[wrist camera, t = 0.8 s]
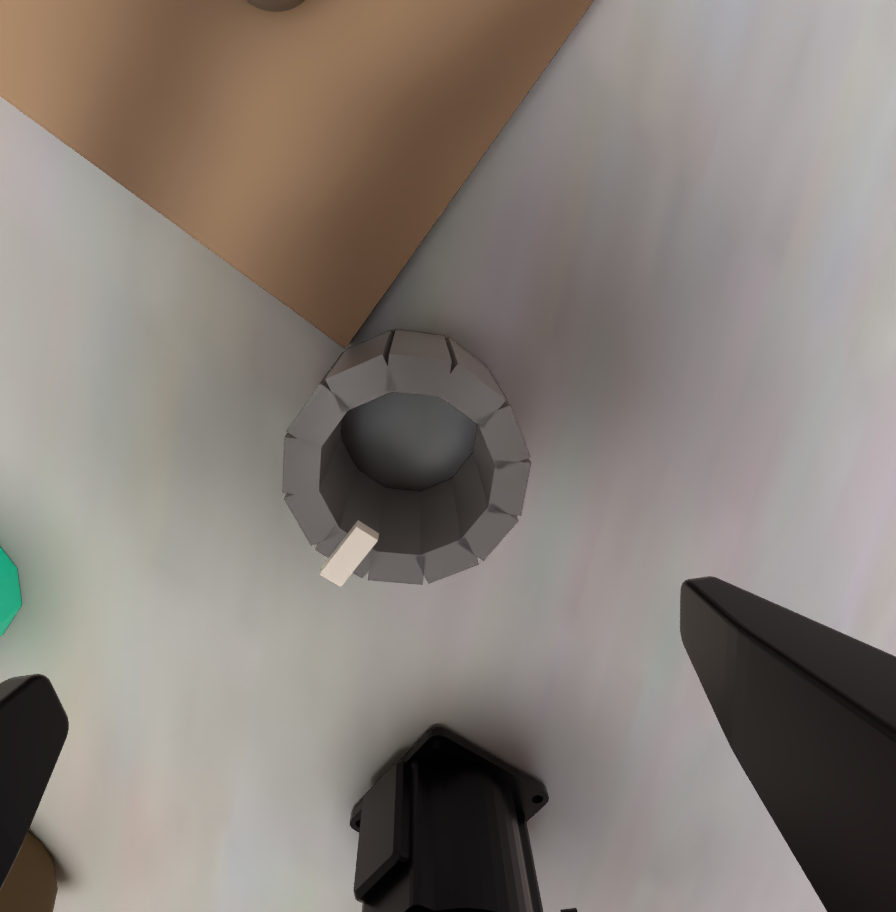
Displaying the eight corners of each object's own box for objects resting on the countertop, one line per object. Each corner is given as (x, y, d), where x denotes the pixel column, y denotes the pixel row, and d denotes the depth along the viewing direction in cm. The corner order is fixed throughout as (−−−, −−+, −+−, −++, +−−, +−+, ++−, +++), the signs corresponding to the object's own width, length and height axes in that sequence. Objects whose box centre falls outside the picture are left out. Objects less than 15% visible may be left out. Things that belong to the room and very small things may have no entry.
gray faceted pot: (542, 409, 19) (581, 458, 15) (423, 552, 21) (424, 637, 16) (386, 289, 18) (375, 303, 13) (270, 454, 19) (225, 518, 15)
